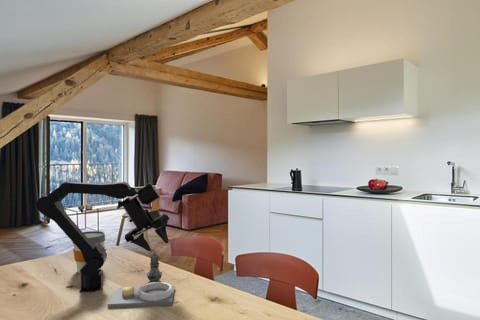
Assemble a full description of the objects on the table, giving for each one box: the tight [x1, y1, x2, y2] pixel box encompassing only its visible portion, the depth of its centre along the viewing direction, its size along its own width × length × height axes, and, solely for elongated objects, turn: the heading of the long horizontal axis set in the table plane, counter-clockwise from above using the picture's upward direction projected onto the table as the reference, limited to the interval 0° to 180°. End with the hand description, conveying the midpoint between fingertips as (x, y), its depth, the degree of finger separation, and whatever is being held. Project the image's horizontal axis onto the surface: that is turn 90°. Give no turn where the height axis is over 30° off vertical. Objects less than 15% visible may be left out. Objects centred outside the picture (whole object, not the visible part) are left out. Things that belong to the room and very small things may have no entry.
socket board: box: [107, 281, 176, 309], centre depth 115 cm, size 20×13×3 cm, turn 97°
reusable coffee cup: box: [71, 230, 106, 274], centre depth 142 cm, size 13×13×15 cm
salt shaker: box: [146, 251, 163, 284], centre depth 128 cm, size 6×6×12 cm
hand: (158, 246), depth 128 cm, fingers open, 9 cm apart
